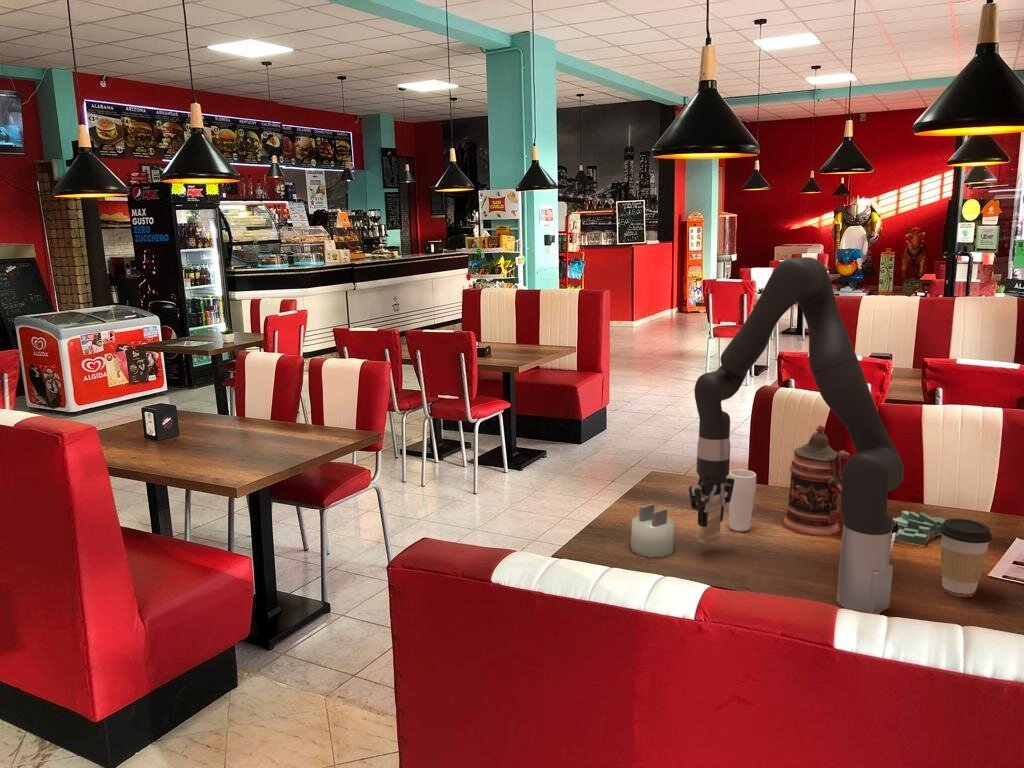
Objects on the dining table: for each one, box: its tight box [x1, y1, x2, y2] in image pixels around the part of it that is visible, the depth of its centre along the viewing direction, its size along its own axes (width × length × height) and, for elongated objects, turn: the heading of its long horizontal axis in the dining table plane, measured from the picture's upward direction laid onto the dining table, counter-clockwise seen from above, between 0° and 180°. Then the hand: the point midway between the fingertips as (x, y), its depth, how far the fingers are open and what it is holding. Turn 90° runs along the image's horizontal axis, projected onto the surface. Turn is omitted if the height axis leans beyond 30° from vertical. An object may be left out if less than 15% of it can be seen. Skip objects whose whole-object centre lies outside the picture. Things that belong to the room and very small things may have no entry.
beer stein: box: [781, 424, 851, 537], centre depth 208 cm, size 17×28×18 cm
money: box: [893, 510, 946, 546], centre depth 207 cm, size 20×16×5 cm
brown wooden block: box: [699, 494, 721, 545], centre depth 193 cm, size 2×5×12 cm, turn 126°
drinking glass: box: [728, 468, 757, 533], centre depth 208 cm, size 7×7×15 cm
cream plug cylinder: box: [630, 502, 675, 558], centre depth 195 cm, size 10×10×10 cm
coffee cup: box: [940, 517, 993, 594], centre depth 173 cm, size 10×10×15 cm
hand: (710, 523), depth 194 cm, fingers closed on brown wooden block, 5 cm apart
